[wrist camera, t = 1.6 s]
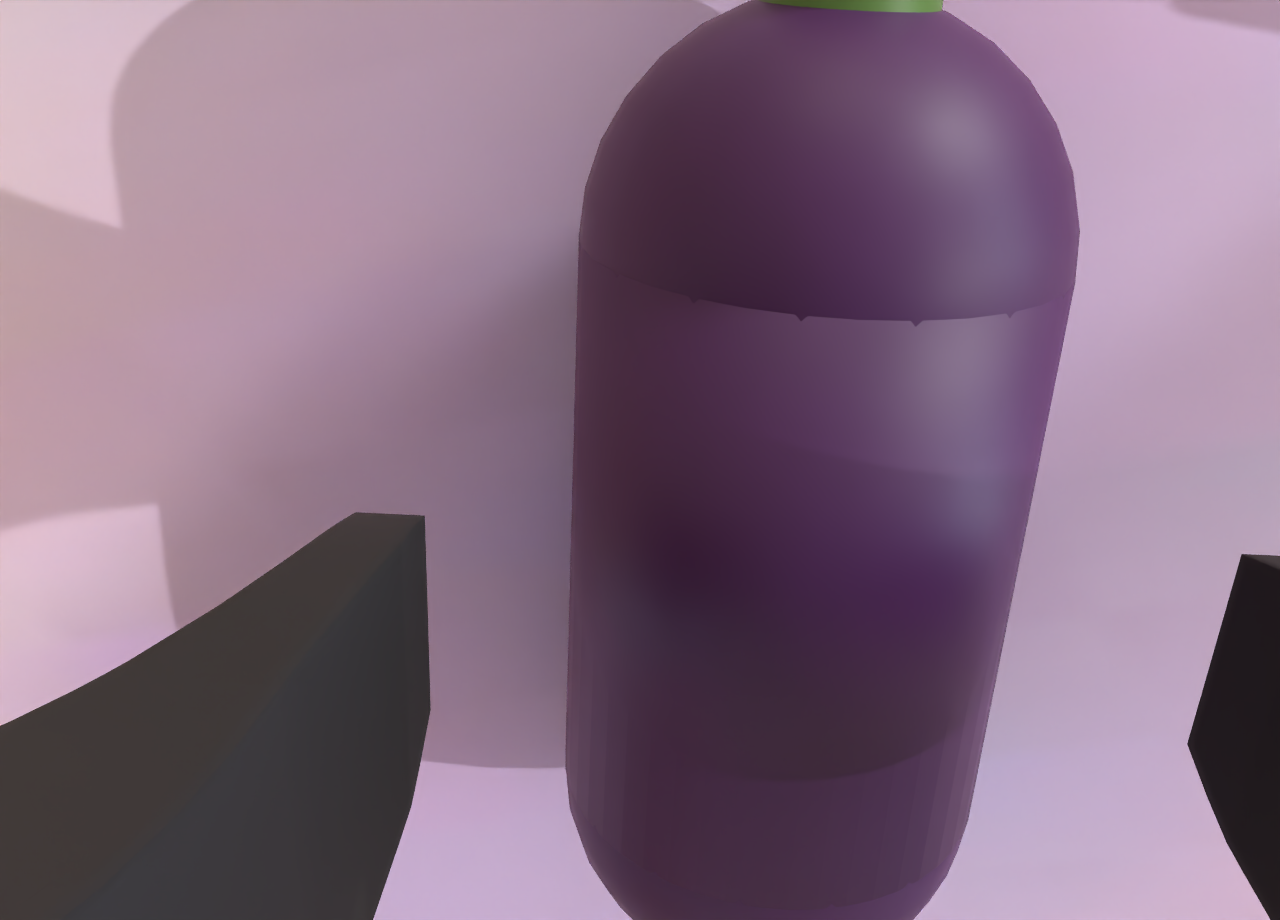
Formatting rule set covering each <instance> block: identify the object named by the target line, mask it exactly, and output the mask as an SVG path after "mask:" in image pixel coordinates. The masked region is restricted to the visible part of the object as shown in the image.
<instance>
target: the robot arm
mask: <svg viewBox="0 0 1280 920" xmlns="http://www.w3.org/2000/svg"><path fill="white" fill-rule="evenodd" d="M429 715H430V676H429V643H428V610H427V577H426V544H425V516H420V515H399V514H378V513H354V514H352V515H350V516H349V517H347V518H345V519H343V520H342V521H340V522H339V523H337V524H336V525H334V526H333V527H331V528H330V529H328V530H327V531H325V532H324V533H323V534H321V535H320V536H318V537H317V538H315V539H314V540H313V541H311V542H310V543H308V544H307V545H306V546H304V547H303V548H301V549H300V550H299V551H297V552H296V553H294V554H293V555H291V556H290V557H289V558H287V559H286V560H284V561H283V562H282V563H280V564H279V565H277V566H276V567H274V568H273V569H271V570H270V571H269V572H267V573H266V574H264V575H263V576H261V577H260V578H258V579H257V580H255V581H254V582H253V583H251V584H250V585H248V586H247V587H245V588H244V589H242V590H241V591H239V592H238V593H237V594H235V595H234V596H232V597H231V598H229V599H228V600H226V601H225V602H223V603H222V604H220V605H219V606H217V607H216V608H214V609H212V610H211V611H209V612H208V613H206V614H204V615H203V616H201V617H199V618H198V619H196V620H195V621H193V622H191V623H190V624H188V625H186V626H185V627H183V628H181V629H180V630H178V631H177V632H175V633H173V634H172V635H170V636H168V637H167V638H165V639H164V640H162V641H160V642H159V643H157V644H155V645H154V646H152V647H150V648H149V649H147V650H146V651H144V652H142V653H141V654H139V655H137V656H136V657H134V658H133V659H131V660H129V661H128V662H126V663H124V664H122V665H120V666H119V667H117V668H115V669H113V670H111V671H110V672H108V673H106V674H104V675H102V676H100V677H98V678H97V679H95V680H93V681H91V682H89V683H87V684H85V685H83V686H81V687H80V688H78V689H76V690H74V691H72V692H70V693H68V694H66V695H64V696H62V697H60V698H58V699H56V700H53V701H51V702H49V703H47V704H45V705H43V706H41V707H39V708H37V709H35V710H33V711H31V712H29V713H27V714H25V715H23V716H21V717H19V718H17V719H14V720H12V721H10V722H8V723H6V724H4V725H1V726H0V920H373V918H374V915H375V912H376V909H377V906H378V904H379V901H380V898H381V895H382V892H383V889H384V886H385V883H386V880H387V877H388V874H389V871H390V868H391V865H392V862H393V859H394V856H395V854H396V851H397V848H398V845H399V842H400V839H401V836H402V833H403V830H404V827H405V824H406V821H407V818H408V815H409V811H410V808H411V805H412V800H413V795H414V791H415V786H416V781H417V776H418V771H419V767H420V762H421V757H422V751H423V746H424V741H425V736H426V730H427V725H428V720H429ZM1188 747H1189V750H1190V752H1191V755H1192V758H1193V760H1194V763H1195V766H1196V768H1197V771H1198V774H1199V776H1200V779H1201V781H1202V784H1203V787H1204V789H1205V792H1206V795H1207V797H1208V800H1209V802H1210V805H1211V807H1212V809H1213V812H1214V814H1215V816H1216V819H1217V821H1218V823H1219V826H1220V828H1221V830H1222V833H1223V835H1224V837H1225V840H1226V842H1227V844H1228V846H1229V848H1230V849H1231V851H1232V853H1233V855H1234V857H1235V858H1236V860H1237V862H1238V864H1239V866H1240V867H1241V869H1242V871H1243V873H1244V874H1245V876H1246V878H1247V880H1248V881H1249V883H1250V885H1251V887H1252V888H1253V890H1254V892H1255V893H1256V895H1257V897H1258V899H1259V900H1260V902H1261V904H1262V906H1263V907H1264V909H1265V911H1266V913H1267V914H1268V916H1269V918H1270V919H1271V920H1280V556H1271V555H1250V554H1242V555H1241V559H1240V562H1239V566H1238V569H1237V573H1236V576H1235V580H1234V583H1233V586H1232V590H1231V593H1230V597H1229V600H1228V604H1227V607H1226V611H1225V614H1224V618H1223V621H1222V625H1221V628H1220V632H1219V635H1218V639H1217V642H1216V646H1215V649H1214V653H1213V656H1212V660H1211V663H1210V667H1209V670H1208V674H1207V677H1206V681H1205V684H1204V688H1203V691H1202V695H1201V698H1200V702H1199V705H1198V709H1197V712H1196V716H1195V719H1194V723H1193V726H1192V730H1191V733H1190V737H1189V740H1188Z"/></svg>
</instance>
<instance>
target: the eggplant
mask: <svg viewBox="0 0 1280 920" xmlns="http://www.w3.org/2000/svg"><path fill="white" fill-rule="evenodd" d="M942 5H943V0H751V1H748V2H746V3H744V4H742V5H740V6H738V7H736V8H734V9H732V10H730V11H727V12H725V13H723V14H721V15H719V16H717V17H715V18H713V19H711V20H709V21H707V22H705V23H703V24H702V25H700V26H699V27H698V28H696V29H695V30H694V31H692V32H691V33H690V34H689V35H687V36H686V37H685V38H683V39H682V40H681V41H679V42H678V43H677V44H676V45H674V46H673V47H672V48H670V49H669V50H668V51H667V52H665V53H664V54H663V55H662V56H661V57H660V58H659V59H658V60H657V61H656V63H655V64H654V65H653V66H652V67H651V68H650V69H649V71H648V72H647V73H646V74H645V75H644V76H643V78H642V79H641V80H640V81H639V82H638V83H637V84H636V86H635V87H634V88H633V89H632V90H631V91H630V93H629V94H628V95H627V96H626V97H625V99H624V101H623V103H622V104H621V106H620V108H619V110H618V111H617V113H616V115H615V117H614V118H613V120H612V122H611V124H610V125H609V127H608V129H607V131H606V132H605V134H604V136H603V138H602V139H601V141H600V144H599V147H598V150H597V153H596V156H595V159H594V162H593V165H592V168H591V171H590V174H589V177H588V180H587V183H586V186H585V192H584V200H583V208H582V216H581V224H580V232H579V257H578V295H577V334H576V372H575V410H574V448H573V486H572V524H571V563H570V601H569V639H568V677H567V716H566V773H567V783H568V794H569V804H570V810H571V813H572V816H573V819H574V821H575V824H576V827H577V830H578V833H579V836H580V838H581V841H582V844H583V847H584V849H585V852H586V855H587V858H588V860H589V863H590V864H591V866H592V867H593V869H594V870H595V872H596V873H597V875H598V876H599V878H600V879H601V881H602V882H603V884H604V885H605V887H606V888H607V890H608V891H609V892H610V894H611V895H612V897H613V898H614V899H615V901H616V902H617V903H618V905H619V906H620V907H621V908H622V909H623V910H624V911H625V912H626V913H627V914H628V915H629V916H630V917H631V918H632V919H633V920H913V919H914V918H915V917H916V916H917V915H918V913H919V912H920V911H921V910H922V909H923V908H924V906H925V905H926V904H927V903H928V902H929V901H930V899H931V898H932V896H933V895H934V893H935V892H936V890H937V889H938V887H939V886H940V885H941V883H942V882H943V880H944V879H945V877H946V876H947V874H948V871H949V869H950V867H951V864H952V862H953V860H954V858H955V855H956V853H957V851H958V848H959V845H960V842H961V839H962V836H963V833H964V830H965V827H966V824H967V821H968V817H969V812H970V807H971V802H972V797H973V792H974V787H975V782H976V777H977V772H978V767H979V762H980V757H981V752H982V747H983V742H984V737H985V732H986V727H987V722H988V717H989V712H990V707H991V702H992V697H993V692H994V687H995V682H996V677H997V672H998V667H999V662H1000V657H1001V652H1002V647H1003V642H1004V637H1005V632H1006V627H1007V621H1008V616H1009V611H1010V606H1011V601H1012V596H1013V591H1014V586H1015V581H1016V576H1017V571H1018V566H1019V561H1020V556H1021V551H1022V546H1023V541H1024V536H1025V531H1026V526H1027V521H1028V516H1029V511H1030V506H1031V501H1032V496H1033V491H1034V486H1035V481H1036V476H1037V471H1038V466H1039V461H1040V456H1041V451H1042V446H1043V441H1044V436H1045V431H1046V426H1047V421H1048V416H1049V411H1050V406H1051V401H1052V396H1053V391H1054V386H1055V381H1056V376H1057V371H1058V366H1059V361H1060V356H1061V351H1062V345H1063V340H1064V335H1065V330H1066V325H1067V320H1068V315H1069V310H1070V305H1071V300H1072V295H1073V290H1074V285H1075V277H1076V267H1077V256H1078V245H1079V234H1080V229H1079V220H1078V211H1077V203H1076V194H1075V186H1074V177H1073V171H1072V168H1071V165H1070V162H1069V159H1068V156H1067V153H1066V150H1065V147H1064V144H1063V142H1062V139H1061V136H1060V133H1059V130H1058V127H1057V124H1056V122H1055V121H1054V119H1053V117H1052V116H1051V114H1050V112H1049V111H1048V109H1047V108H1046V106H1045V104H1044V103H1043V101H1042V99H1041V98H1040V96H1039V94H1038V93H1037V91H1036V89H1035V88H1034V86H1033V85H1032V83H1031V81H1030V80H1029V79H1028V78H1027V77H1026V76H1025V75H1024V74H1023V72H1022V71H1021V70H1020V69H1019V68H1018V67H1017V66H1016V65H1015V64H1014V63H1013V62H1012V61H1011V60H1010V59H1009V58H1008V57H1007V56H1006V55H1005V54H1004V53H1003V52H1002V51H1001V49H1000V48H999V47H998V46H997V45H996V44H995V43H994V42H992V41H991V40H989V39H988V38H986V37H985V36H983V35H982V34H980V33H979V32H977V31H976V30H974V29H973V28H971V27H970V26H968V25H967V24H965V23H964V22H962V21H961V20H959V19H958V18H956V17H955V16H953V15H952V14H950V13H948V12H946V11H943V10H942Z"/></svg>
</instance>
